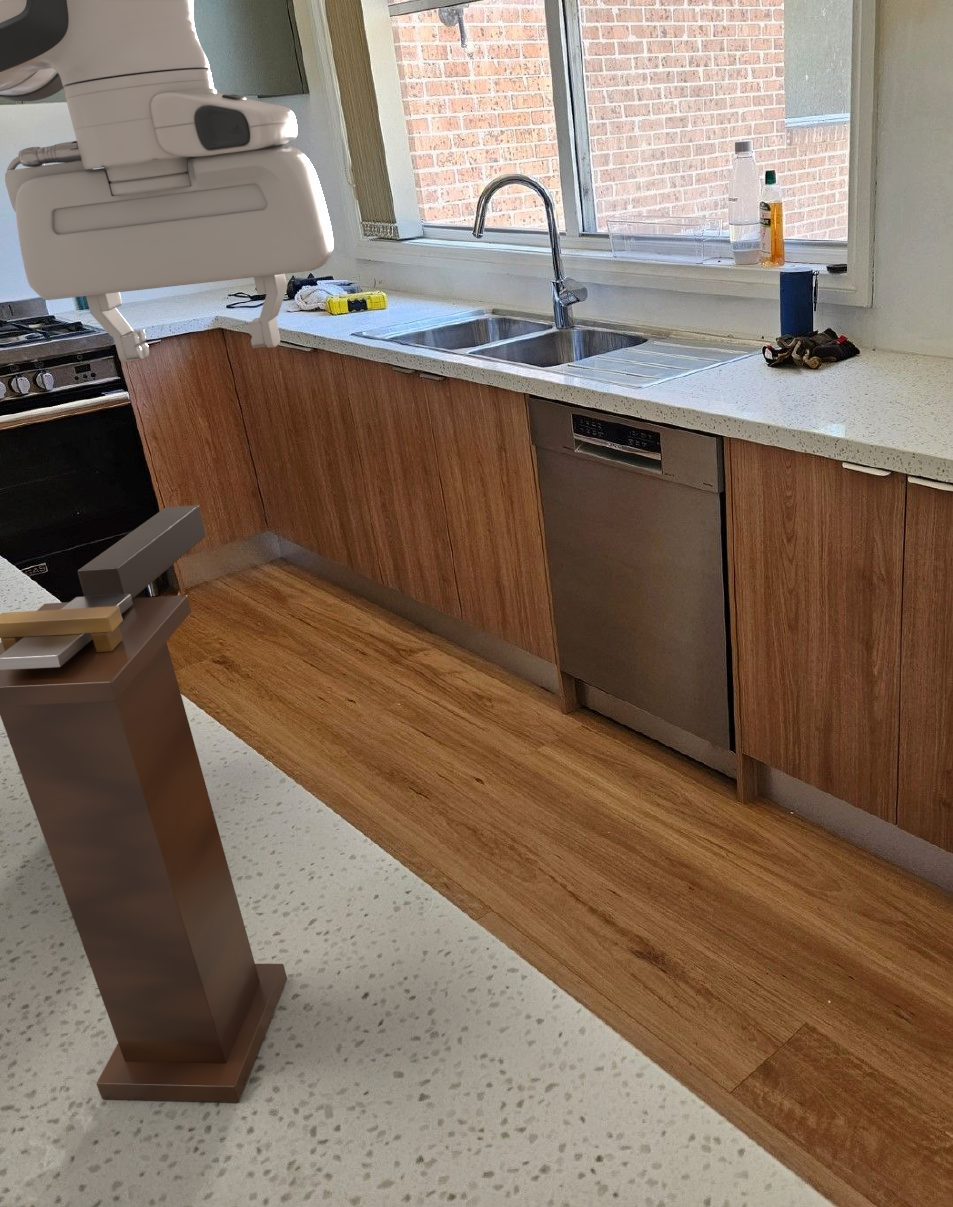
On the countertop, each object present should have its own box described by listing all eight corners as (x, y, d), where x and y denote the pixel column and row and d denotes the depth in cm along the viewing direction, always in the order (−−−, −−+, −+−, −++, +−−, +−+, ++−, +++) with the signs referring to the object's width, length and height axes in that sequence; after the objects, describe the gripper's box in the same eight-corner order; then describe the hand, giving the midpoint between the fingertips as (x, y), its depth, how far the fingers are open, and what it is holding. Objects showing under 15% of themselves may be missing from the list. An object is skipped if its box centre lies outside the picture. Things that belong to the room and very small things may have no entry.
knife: (-2, 670, 48) (-14, 629, 47) (166, 539, 65) (158, 507, 64) (60, 667, 47) (48, 626, 47) (212, 536, 64) (206, 504, 64)
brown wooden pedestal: (101, 1099, 59) (-68, 654, 47) (165, 977, 67) (34, 571, 55) (239, 1102, 58) (99, 645, 46) (287, 978, 66) (179, 562, 54)
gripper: (-30, 154, 65) (36, 378, 71) (289, 110, 62) (332, 349, 68) (22, 149, 71) (80, 356, 77) (318, 108, 68) (355, 329, 73)
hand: (200, 353), depth 72 cm, fingers open, 8 cm apart
